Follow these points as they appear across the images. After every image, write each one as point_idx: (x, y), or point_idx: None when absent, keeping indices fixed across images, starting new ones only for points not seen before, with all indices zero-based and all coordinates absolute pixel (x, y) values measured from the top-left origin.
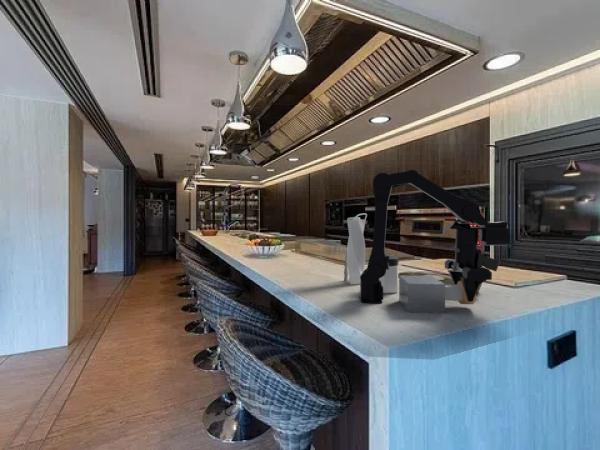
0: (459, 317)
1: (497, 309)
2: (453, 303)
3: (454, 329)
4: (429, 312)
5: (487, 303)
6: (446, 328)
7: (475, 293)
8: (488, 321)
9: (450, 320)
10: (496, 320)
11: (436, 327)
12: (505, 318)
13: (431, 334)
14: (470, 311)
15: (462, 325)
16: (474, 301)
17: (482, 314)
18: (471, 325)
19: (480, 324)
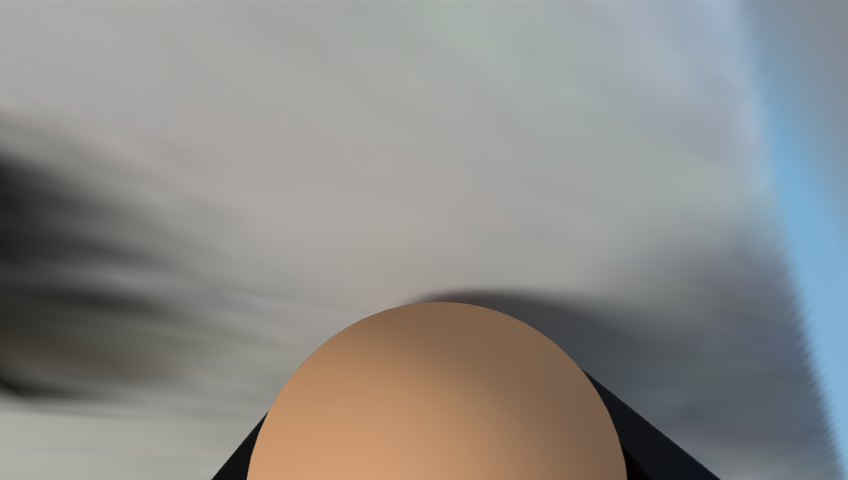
0: (648, 379)
1: (409, 3)
2: (301, 364)
3: (811, 418)
4: None
5: (114, 28)
6: (786, 438)
7: (676, 445)
8: (767, 246)
9: (689, 417)
10: (767, 179)
11: (761, 462)
12: (745, 65)
13: (822, 475)
14: (519, 300)
15: (777, 386)
16: (533, 331)
17: (600, 237)
18: (794, 352)
19: (799, 307)
